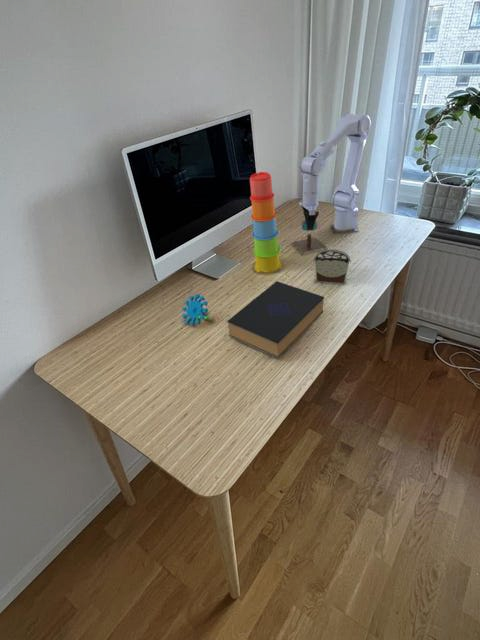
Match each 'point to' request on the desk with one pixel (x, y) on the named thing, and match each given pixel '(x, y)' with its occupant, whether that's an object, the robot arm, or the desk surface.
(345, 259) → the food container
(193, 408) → the desk surface
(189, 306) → the blue knobbed toy
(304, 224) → the ring
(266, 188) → the stacking cups
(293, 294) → the book
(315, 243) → the ring toss
